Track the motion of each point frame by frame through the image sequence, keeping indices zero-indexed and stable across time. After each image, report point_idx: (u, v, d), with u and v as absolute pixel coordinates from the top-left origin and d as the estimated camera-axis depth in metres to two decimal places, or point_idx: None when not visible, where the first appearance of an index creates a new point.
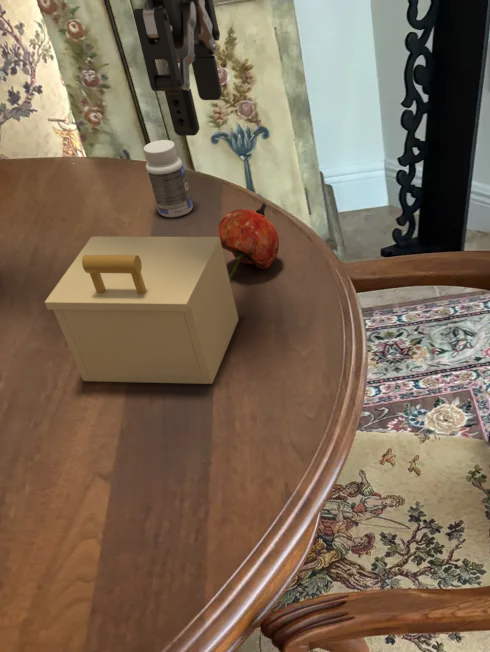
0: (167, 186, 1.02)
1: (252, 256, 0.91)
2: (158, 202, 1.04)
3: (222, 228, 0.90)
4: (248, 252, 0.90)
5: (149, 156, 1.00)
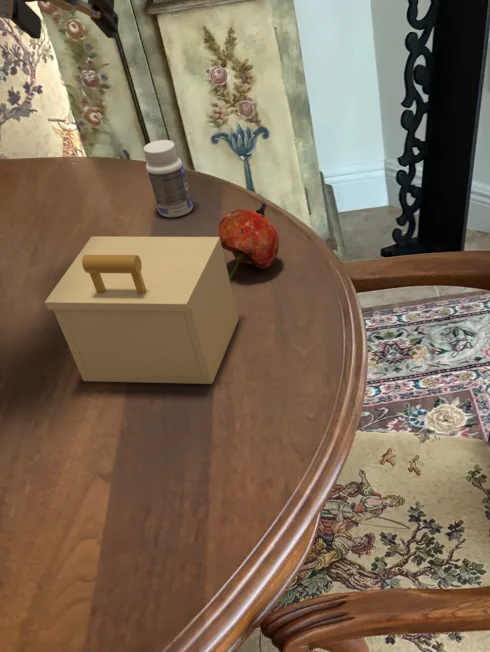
0: (167, 186, 1.02)
1: (252, 256, 0.91)
2: (158, 202, 1.04)
3: (222, 228, 0.90)
4: (248, 252, 0.90)
5: (149, 156, 1.00)
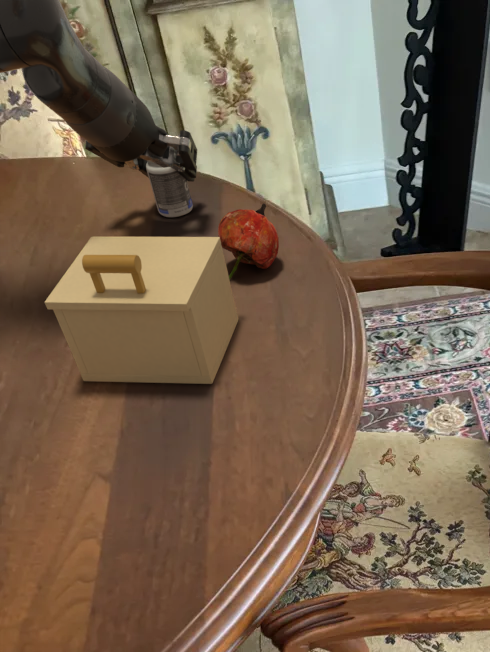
0: (167, 185, 1.02)
1: (252, 256, 0.91)
2: (158, 202, 1.04)
3: (222, 228, 0.90)
4: (248, 252, 0.90)
5: None
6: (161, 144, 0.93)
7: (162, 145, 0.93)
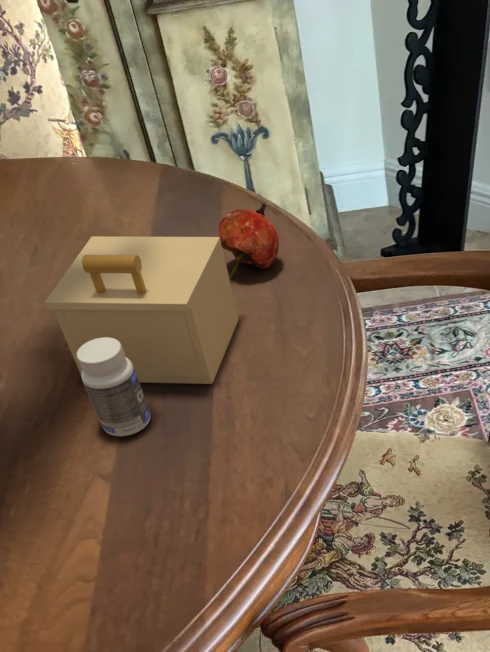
0: (111, 401, 0.72)
1: (252, 256, 0.91)
2: (101, 418, 0.74)
3: (222, 228, 0.90)
4: (248, 252, 0.90)
5: (84, 366, 0.70)
6: None
7: None
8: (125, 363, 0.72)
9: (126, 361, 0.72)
